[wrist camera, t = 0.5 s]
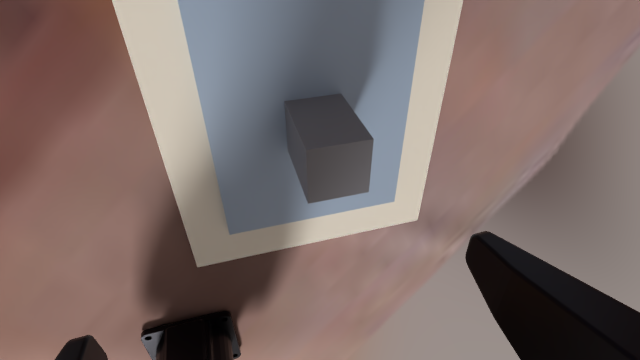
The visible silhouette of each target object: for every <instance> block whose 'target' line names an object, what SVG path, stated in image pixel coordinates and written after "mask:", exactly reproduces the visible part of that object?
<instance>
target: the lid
mask: <svg viewBox="0 0 640 360" xmlns="http://www.w3.org/2000/svg"><path fill="white" fill-rule="evenodd" d="M424 1H425V0H178V4H179V9H180V13H181V18H182V22H183V27H184V31H185V36H186V41H187V45H188V50H189V54H190V59H191V63H192V68H193V72H194V77H195V81H196V86H197V90H198V95H199V99H200V104H201V108H202V113H203V117H204V122H205V126H206V131H207V135H208V140H209V144H210V149H211V154H212V158H213V163H214V167H215V172H216V176H217V181H218V185H219V190H220V194H221V199H222V203H223V208H224V212H225V217H226V221H227V226H228V230H229V235H231V234H236V233H241V232H246V231H251V230H256V229H261V228H266V227H271V226H276V225H281V224H286V223H291V222H296V221H301V220H306V219H311V218H316V217H321V216H326V215H331V214H335V213H340V212H345V211H350V210H355V209H360V208H365V207H370V206H375V205H380V204H385V203H390V202H394V201H395V194H396V188H397V181H398V174H399V168H400V161H401V154H402V148H403V141H404V134H405V128H406V121H407V114H408V107H409V101H410V94H411V87H412V81H413V74H414V67H415V61H416V54H417V47H418V41H419V34H420V27H421V21H422V14H423V7H424Z"/></svg>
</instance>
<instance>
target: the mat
mask: <svg viewBox="0 0 640 360" xmlns="http://www.w3.org/2000/svg"><path fill="white" fill-rule="evenodd" d="M112 2H113V5H114V8H115V11H116V14H117V18H118V21H119V24H120V27H121V30H122V33H123V36H124V39H125V43H126V46H127V49H128V52H129V55H130V58H131V61H132V64H133V68H134V71H135V74H136V77H137V80H138V83H139V86H140V89H141V93H142V96H143V99H144V102H145V105H146V108H147V111H148V115H149V118H150V121H151V124H152V127H153V130H154V133H155V136H156V140H157V143H158V146H159V149H160V152H161V155H162V158H163V161H164V165H165V168H166V171H167V174H168V177H169V180H170V183H171V186H172V190H173V193H174V196H175V199H176V202H177V205H178V208H179V211H180V215H181V218H182V221H183V224H184V227H185V230H186V233H187V236H188V240H189V243H190V246H191V249H192V252H193V255H194V258H195V261H196V265H197V267H202V266H207V265H211V264H216V263H221V262H225V261H230V260H235V259H239V258H244V257H248V256H253V255H258V254H262V253H267V252H272V251H276V250H281V249H286V248H290V247H295V246H300V245H304V244H309V243H314V242H318V241H323V240H327V239H332V238H337V237H341V236H346V235H351V234H355V233H360V232H365V231H369V230H374V229H379V228H383V227H388V226H393V225H397V224H402V223H406V222H411V221H416V220H418V215H419V211H420V206H421V201H422V196H423V191H424V187H425V182H426V177H427V172H428V167H429V162H430V158H431V153H432V148H433V143H434V138H435V134H436V129H437V124H438V119H439V114H440V110H441V105H442V100H443V95H444V90H445V85H446V81H447V76H448V71H449V66H450V61H451V57H452V52H453V47H454V42H455V37H456V33H457V28H458V23H459V18H460V13H461V8H462V4H463V0H425V1H424V7H423V14H422V21H421V27H420V34H419V41H418V47H417V54H416V61H415V67H414V74H413V81H412V87H411V94H410V101H409V107H408V114H407V121H406V128H405V134H404V141H403V148H402V154H401V161H400V168H399V174H398V181H397V188H396V194H395V201H394V202H390V203H385V204H380V205H375V206H370V207H365V208H360V209H355V210H350V211H345V212H340V213H335V214H331V215H326V216H321V217H316V218H311V219H306V220H301V221H296V222H291V223H286V224H281V225H276V226H271V227H266V228H261V229H256V230H251V231H246V232H241V233H236V234H231V235H229V230H228V226H227V221H226V217H225V212H224V208H223V203H222V199H221V194H220V190H219V185H218V181H217V176H216V172H215V167H214V163H213V158H212V154H211V149H210V144H209V140H208V135H207V131H206V126H205V122H204V117H203V113H202V108H201V104H200V99H199V95H198V90H197V86H196V81H195V77H194V72H193V68H192V63H191V59H190V54H189V50H188V45H187V41H186V36H185V31H184V27H183V22H182V18H181V13H180V9H179V4H178V0H112Z"/></svg>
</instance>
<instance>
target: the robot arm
mask: <svg viewBox="0 0 640 360" xmlns="http://www.w3.org/2000/svg"><path fill="white" fill-rule="evenodd" d="M466 262H467V265H468V267H469V269H470V271H471V273H472V275H473V277H474V279H475V281H476V283H477V285H478V287H479V289H480V291H481V293H482V295H483V297H484V299H485V301H486V303H487V305H488V307H489V309H490V311H491V313H492V314H493V317H494V318H495V320H496V321H497V323H498V325H499V326H500V328H501V330H502V331H503V333H504V334H505V336H506V337H507V339H508V341H509V342H510V344H511V345H512V347H513V348H514V350H515V352H516V353H517V355H518V356H519V358H520V359H521V360H640V312H638V311H636V310H634V309H632V308H630V307H628V306H627V305H625V304H623V303H621V302H619V301H617V300H615V299H613V298H612V297H610V296H608V295H606V294H604V293H602V292H601V291H599V290H597V289H595V288H593V287H591V286H589V285H588V284H586V283H584V282H582V281H580V280H578V279H576V278H575V277H573V276H571V275H569V274H567V273H565V272H563V271H562V270H559V269H558V268H556V267H554V266H552V265H550V264H548V263H547V262H545V261H543V260H541V259H539V258H537V257H536V256H534V255H532V254H530V253H528V252H526V251H524V250H522V249H521V248H519V247H517V246H515V245H513V244H511V243H510V242H507V241H506V240H504V239H502V238H500V237H498V236H496V235H495V234H493V233H491V232H487V231H484V232H480V233H476V234H473V235H472V236H471V238H470V241H469V245H468V249H467V252H466ZM141 341H142V342H143V344H144V346H145V348H146V349H147V351H148V353H149V355H150V357H151V358H152V360H233V359H236V358H238V357H240V355H241V353H240V347H239V344H238V340H237V336H236V332H235V329H234V325H233V321H232V317H231V314H230V312H228V311H223V312H219V313H214V314H210V315H206V316H202V317H198V318H194V319H190V320H185V321H181V322H177V323H173V324H169V325H165V326H161V327H156V328H152V329H148V330H145V331H143V332H142V334H141ZM55 360H108V358H107V355H106V353H105V352H104V350H103V349H102V348H101V346H100V345H99V344H98V343H97V341H96V340H95V339H94V337H93V336H90V335H86V336H82V337H79V338H75V339H72V340H70V341H68V342H67V343H66V344H65V346H64V347H63V349H62V350H61V351H60V353H59V354H58V356H57V357H56V359H55Z"/></svg>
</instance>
